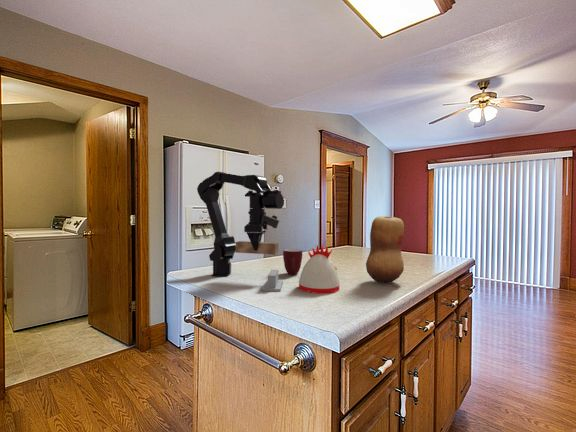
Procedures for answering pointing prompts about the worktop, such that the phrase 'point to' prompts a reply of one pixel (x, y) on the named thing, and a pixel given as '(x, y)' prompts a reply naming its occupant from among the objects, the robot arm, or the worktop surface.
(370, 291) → the worktop surface
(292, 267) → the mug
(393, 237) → the butternut squash
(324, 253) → the kitchen timer
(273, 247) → the walnut bar
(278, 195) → the robot arm
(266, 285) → the ridge block
